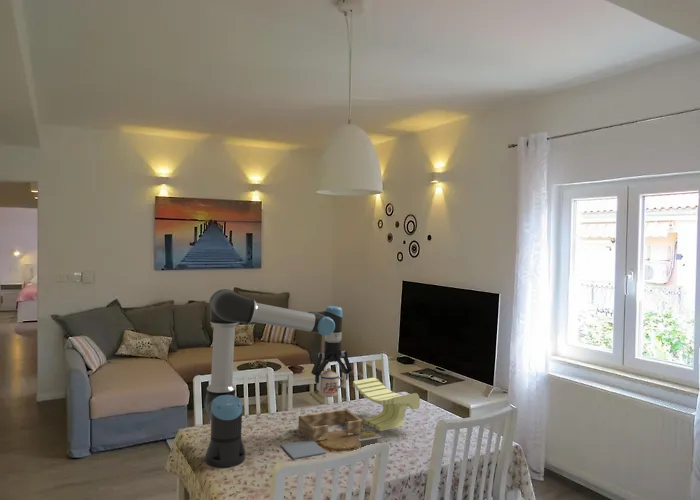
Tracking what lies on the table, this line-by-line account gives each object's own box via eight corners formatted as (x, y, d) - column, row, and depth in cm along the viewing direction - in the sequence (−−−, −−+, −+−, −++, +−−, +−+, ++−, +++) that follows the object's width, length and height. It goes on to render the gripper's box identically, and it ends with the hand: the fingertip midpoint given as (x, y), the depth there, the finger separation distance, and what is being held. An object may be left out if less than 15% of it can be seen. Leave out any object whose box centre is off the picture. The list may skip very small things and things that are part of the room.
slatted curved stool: (418, 430, 236) (419, 391, 236) (392, 437, 226) (394, 397, 226) (377, 411, 260) (378, 376, 260) (352, 417, 250) (353, 381, 250)
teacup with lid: (322, 398, 224) (323, 371, 224) (314, 392, 232) (315, 367, 232) (347, 395, 229) (348, 369, 229) (338, 390, 237) (339, 365, 237)
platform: (342, 445, 216) (343, 430, 216) (380, 439, 224) (380, 425, 224) (355, 457, 206) (355, 440, 205) (393, 450, 213) (394, 434, 213)
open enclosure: (312, 442, 218) (313, 428, 218) (298, 429, 233) (298, 415, 232) (362, 433, 229) (363, 420, 229) (346, 421, 244) (346, 409, 244)
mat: (293, 459, 200) (293, 458, 200) (281, 446, 213) (281, 444, 213) (325, 453, 207) (325, 452, 207) (312, 441, 219) (312, 439, 219)
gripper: (311, 344, 221) (309, 393, 222) (360, 340, 232) (358, 388, 233) (305, 340, 228) (303, 389, 228) (352, 337, 239) (351, 383, 239)
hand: (331, 388), depth 231 cm, fingers closed on teacup with lid, 12 cm apart
